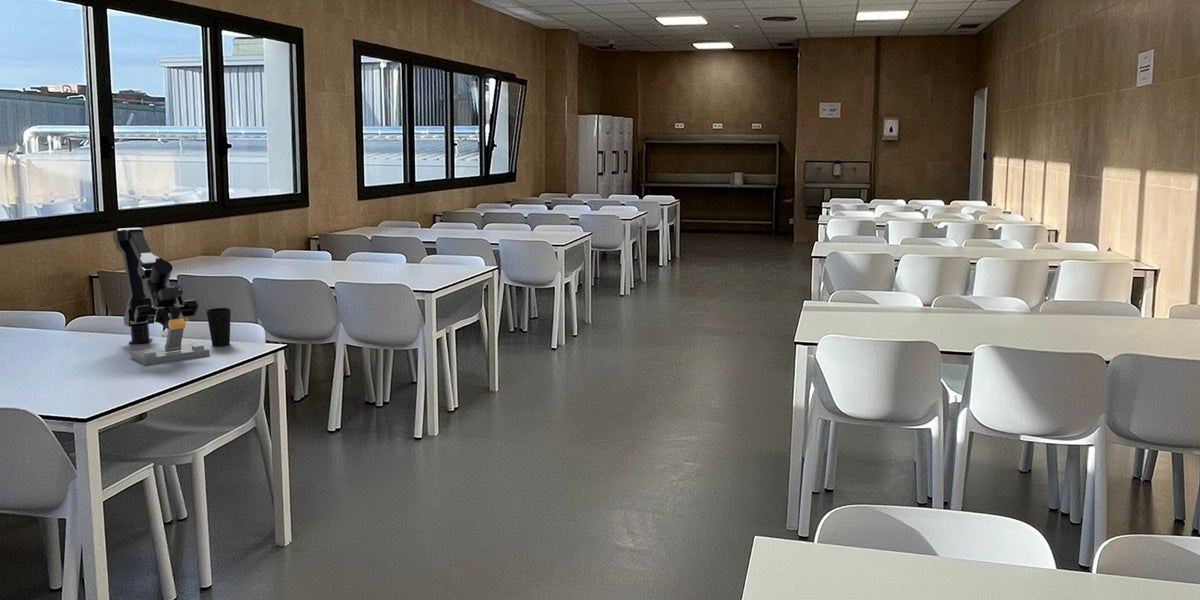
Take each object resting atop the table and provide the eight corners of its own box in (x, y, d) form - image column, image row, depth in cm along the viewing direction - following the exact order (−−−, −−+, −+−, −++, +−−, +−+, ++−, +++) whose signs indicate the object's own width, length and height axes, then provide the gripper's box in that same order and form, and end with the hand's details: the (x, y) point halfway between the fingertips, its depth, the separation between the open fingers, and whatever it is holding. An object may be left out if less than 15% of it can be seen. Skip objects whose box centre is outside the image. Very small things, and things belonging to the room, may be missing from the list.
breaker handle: (164, 348, 330) (168, 320, 323) (178, 346, 333) (183, 318, 326) (166, 353, 329) (171, 325, 322) (180, 351, 332) (185, 323, 325)
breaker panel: (131, 357, 332) (130, 347, 331) (194, 348, 345) (193, 339, 344) (145, 365, 322) (144, 355, 321) (209, 355, 334) (209, 345, 334)
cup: (204, 345, 349) (201, 310, 347) (221, 341, 356) (219, 307, 354) (220, 348, 345) (217, 312, 343) (238, 343, 352) (235, 308, 350)
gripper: (133, 281, 323) (148, 321, 316) (194, 274, 335) (209, 313, 328) (127, 302, 330) (141, 342, 324) (187, 295, 342) (201, 333, 336)
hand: (174, 332), depth 328 cm, fingers closed, pressing on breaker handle
